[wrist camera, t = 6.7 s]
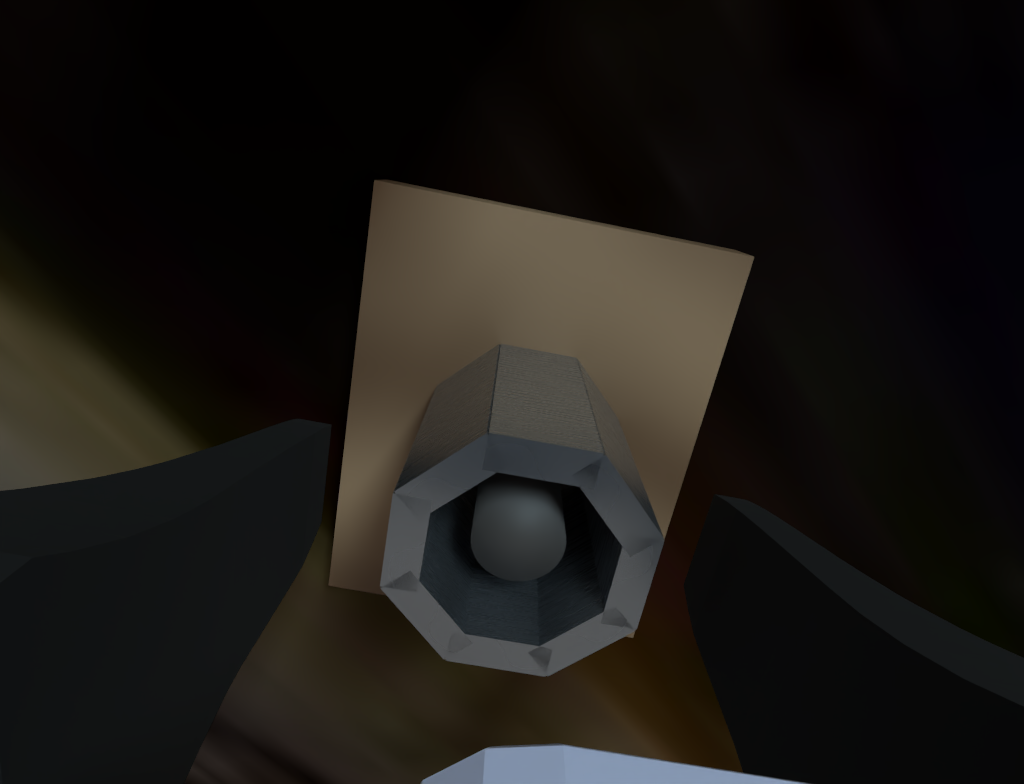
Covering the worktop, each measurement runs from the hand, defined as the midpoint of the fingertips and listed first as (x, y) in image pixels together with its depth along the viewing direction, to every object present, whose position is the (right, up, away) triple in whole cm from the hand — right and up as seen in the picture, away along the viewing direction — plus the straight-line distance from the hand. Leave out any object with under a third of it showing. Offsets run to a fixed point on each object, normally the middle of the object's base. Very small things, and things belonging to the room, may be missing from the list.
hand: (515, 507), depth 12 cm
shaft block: (0, +1, +4) cm, 4 cm away
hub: (0, +1, +3) cm, 3 cm away
